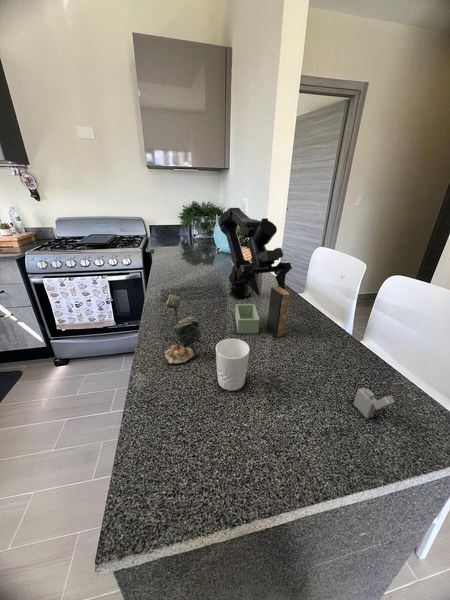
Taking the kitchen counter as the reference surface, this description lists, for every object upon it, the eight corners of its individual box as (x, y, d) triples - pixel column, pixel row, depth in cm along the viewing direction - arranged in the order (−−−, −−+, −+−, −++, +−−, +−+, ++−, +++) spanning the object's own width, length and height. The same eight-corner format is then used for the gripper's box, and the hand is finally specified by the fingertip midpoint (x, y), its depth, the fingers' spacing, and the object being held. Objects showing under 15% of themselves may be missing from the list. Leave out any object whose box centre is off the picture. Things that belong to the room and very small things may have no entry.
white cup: (250, 374, 65) (253, 342, 60) (242, 396, 58) (244, 362, 54) (221, 367, 67) (222, 335, 63) (210, 387, 60) (210, 354, 56)
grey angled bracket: (352, 403, 57) (361, 376, 53) (359, 401, 57) (368, 374, 54) (377, 430, 51) (389, 401, 47) (384, 428, 51) (396, 399, 48)
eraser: (275, 337, 81) (280, 294, 74) (266, 327, 86) (271, 287, 79) (283, 335, 82) (289, 293, 75) (274, 326, 87) (279, 286, 80)
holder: (235, 316, 93) (235, 304, 90) (253, 316, 93) (254, 304, 91) (237, 333, 82) (238, 319, 80) (258, 333, 82) (259, 319, 80)
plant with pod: (205, 361, 69) (204, 295, 60) (163, 366, 67) (156, 298, 58) (201, 344, 76) (199, 283, 68) (163, 348, 74) (156, 285, 65)
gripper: (241, 240, 78) (253, 286, 73) (293, 237, 83) (308, 280, 79) (231, 258, 88) (242, 299, 83) (278, 255, 93) (290, 293, 89)
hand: (271, 293), depth 83 cm, fingers open, 9 cm apart
